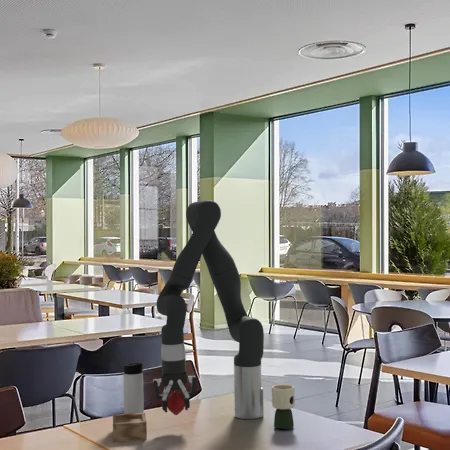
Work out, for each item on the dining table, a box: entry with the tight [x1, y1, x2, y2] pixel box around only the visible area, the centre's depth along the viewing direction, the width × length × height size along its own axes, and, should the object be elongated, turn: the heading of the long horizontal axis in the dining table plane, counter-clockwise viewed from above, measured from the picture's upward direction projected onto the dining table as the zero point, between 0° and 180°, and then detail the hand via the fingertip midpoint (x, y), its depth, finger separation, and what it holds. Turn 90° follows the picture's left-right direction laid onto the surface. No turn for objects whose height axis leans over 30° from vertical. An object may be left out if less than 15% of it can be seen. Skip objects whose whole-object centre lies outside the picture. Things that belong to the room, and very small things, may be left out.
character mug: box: [271, 384, 296, 430], centre depth 204 cm, size 11×7×13 cm, turn 169°
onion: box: [166, 390, 185, 416], centre depth 204 cm, size 6×6×8 cm
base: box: [112, 412, 148, 443], centre depth 199 cm, size 10×10×5 cm
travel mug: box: [123, 362, 145, 414], centre depth 211 cm, size 6×7×20 cm
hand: (176, 410), depth 204 cm, fingers closed on onion, 6 cm apart
